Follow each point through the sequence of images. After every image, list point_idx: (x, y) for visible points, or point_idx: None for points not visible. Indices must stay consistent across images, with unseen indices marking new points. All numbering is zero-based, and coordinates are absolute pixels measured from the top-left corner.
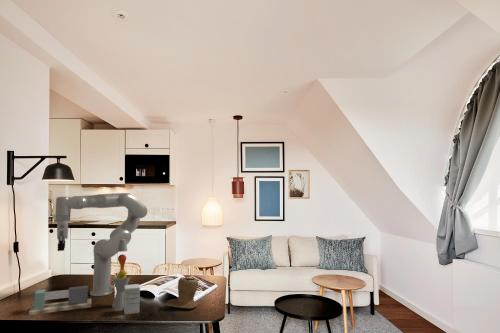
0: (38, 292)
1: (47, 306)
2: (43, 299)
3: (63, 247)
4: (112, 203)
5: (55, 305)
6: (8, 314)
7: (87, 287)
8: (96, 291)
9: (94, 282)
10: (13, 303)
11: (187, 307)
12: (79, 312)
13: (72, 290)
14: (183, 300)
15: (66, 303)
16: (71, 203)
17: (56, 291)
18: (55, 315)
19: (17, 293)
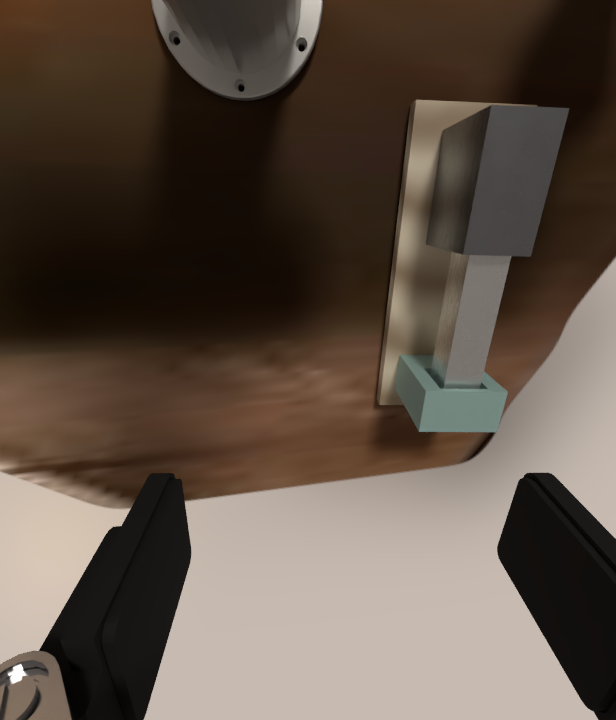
0: (480, 418)
1: (431, 341)
2: (487, 376)
3: (587, 529)
4: None
5: (437, 307)
6: (404, 461)
7: (558, 112)
8: (287, 40)
9: (263, 29)
10: (253, 466)
11: None
12: (576, 185)
13: (533, 231)
14: None
15: (433, 254)
16: None
17: (469, 328)
18: (540, 298)
19: (83, 474)
